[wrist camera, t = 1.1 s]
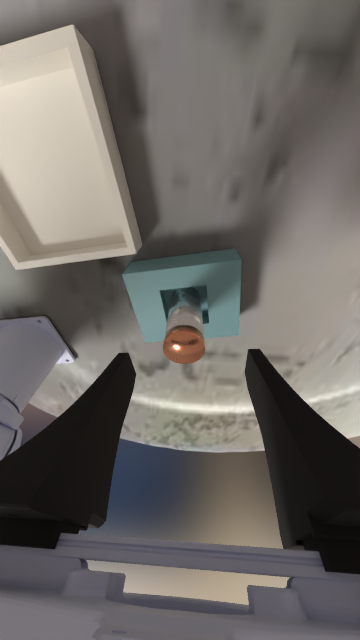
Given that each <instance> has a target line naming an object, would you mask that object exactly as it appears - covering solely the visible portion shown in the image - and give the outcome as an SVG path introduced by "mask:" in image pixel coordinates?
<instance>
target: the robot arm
mask: <svg viewBox="0 0 360 640" xmlns="http://www.w3.org/2000/svg"><path fill="white" fill-rule="evenodd" d="M40 320H41V321H40ZM75 360H76V359H75V357H74V356H73V354H72V353H71V351H70V350H69V348H68V347H67V345H66V344H65V343H64V341H63V340H62V338H61V337H60V335H59V334H58V332H57V331H56V329H55V328H54V326H53V325H52V323H51V322H50V320H49V319H48V318H47V317H45V316H38V317H28V318H18V319H8V320H0V640H360V448H358V447H357V446H356V445H354V444H353V443H352V442H351V441H349V440H348V439H347V438H346V437H345V436H343V435H342V434H341V433H340V432H338V431H337V430H336V429H335V428H334V427H332V426H331V425H330V424H329V423H328V422H326V421H325V420H324V419H323V418H322V417H321V416H320V415H319V414H317V413H316V412H315V411H314V410H313V409H312V408H311V407H310V406H309V405H308V404H307V403H306V402H305V401H304V400H303V399H302V398H301V397H300V396H299V395H298V394H297V393H296V392H295V391H294V390H293V389H292V388H291V387H290V386H289V384H288V383H287V382H286V381H285V380H284V379H283V378H282V376H281V375H280V374H279V373H278V372H277V371H276V369H275V368H274V367H273V366H272V364H271V363H270V362H269V361H268V359H267V358H266V357H265V355H264V354H263V353H262V351H261V350H260V349H248V355H247V361H246V367H245V376H246V381H247V387H248V391H249V394H250V397H251V401H252V404H253V407H254V410H255V414H256V417H257V420H258V423H259V427H260V430H261V434H262V438H263V443H264V448H265V452H266V457H267V462H268V467H269V472H270V478H271V483H272V489H273V494H274V499H275V506H276V512H277V518H278V524H279V530H280V536H281V540H282V545H283V548H284V549H276V548H262V547H249V546H234V545H220V544H207V543H192V542H179V541H166V540H152V539H138V538H124V537H111V536H97V535H83V534H78V532H79V530H83V531H86V530H87V528H88V527H91V528H99V527H101V526H102V525H103V524H104V522H105V521H106V516H107V508H108V501H109V494H110V487H111V480H112V474H113V469H114V463H115V458H116V452H117V447H118V443H119V438H120V433H121V429H122V425H123V422H124V419H125V416H126V412H127V409H128V406H129V403H130V399H131V396H132V393H133V389H134V383H135V377H136V372H135V370H134V367H133V364H132V361H131V359H130V356H129V353H118V355H117V356H116V357H115V358H114V359H113V361H112V362H111V363H110V364H109V365H108V367H107V368H106V369H105V370H104V371H103V372H102V374H101V375H100V376H99V377H98V378H97V379H96V381H95V382H94V383H93V384H92V385H91V386H90V387H89V388H88V389H87V390H86V391H85V392H84V394H83V395H82V396H81V397H80V398H79V399H78V400H77V401H76V402H75V403H74V404H73V405H71V406H70V407H69V408H68V409H67V410H66V411H65V412H64V413H63V414H62V415H60V416H59V417H58V418H57V419H56V420H54V421H53V422H52V423H51V424H50V425H49V426H47V427H46V428H45V429H44V430H43V431H41V432H40V433H38V434H37V435H36V436H34V437H33V438H32V439H31V440H29V441H28V442H26V443H25V444H24V445H23V446H21V447H20V443H21V439H22V431H21V429H20V428H18V427H19V426H20V424H21V423H22V421H23V420H24V418H23V417H22V416H21V415H20V413H21V412H22V410H23V408H24V407H25V406H26V405H27V403H28V402H29V400H30V399H31V398H32V396H33V395H34V393H35V392H36V391H37V389H38V388H39V386H40V385H41V384H42V382H43V381H44V379H45V378H46V377H47V375H48V374H49V372H50V371H51V370H52V368H53V367H54V366H55V364H58V363H73V362H75ZM86 560H95V561H107V562H120V563H130V564H143V565H154V566H165V567H177V568H188V569H200V570H212V571H223V572H235V573H246V574H258V575H269V576H280V577H292V578H289V580H288V581H287V586H286V588H275V587H264V586H253V585H248V587H247V592H248V600H249V605H243V604H235V603H227V602H219V601H211V600H202V599H193V598H182V597H173V596H161V595H148V594H136V593H124V592H123V588H124V582H125V577H126V576H125V574H123V573H112V572H102V571H91V570H89V569H88V564H87V561H86Z"/></svg>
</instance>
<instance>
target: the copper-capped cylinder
mask: <svg viewBox="0 0 360 640" xmlns="http://www.w3.org/2000/svg"><path fill="white" fill-rule="evenodd" d="M204 351H205V346H204V332H203V319H202V306H201V296H200V294H199V292H198V291H197V290H196V289H195V288H193V287H187V288H178V289H176V290H175V291H174V292H173V294H172V296H171V302H170V308H169V314H168V320H167V326H166V332H165V338H164V344H163V352H164V354H165V355H166V357H167V358H169V359H170V360H172V361H174V362H176V363H181V364H188V363H193V362H195V361H197V360H199V359H200V358H201V357H202V356H203V354H204Z"/></svg>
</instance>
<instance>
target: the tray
mask: <svg viewBox="0 0 360 640" xmlns="http://www.w3.org/2000/svg"><path fill="white" fill-rule="evenodd" d="M0 247H1V248H2V249H3V251H4V252H5V254H6V255H7V257H8V258H9V260H10V261H11V263H12V264H13V266H14V267H15V269H16V270H20V269H28V268H35V267H43V266H50V265H57V264H65V263H72V262H80V261H87V260H94V259H102V258H109V257H117V256H124V255H131V254H137V252H138V251H139V249H140V248H141V247H142V241H141V237H140V233H139V229H138V225H137V221H136V217H135V213H134V209H133V205H132V201H131V197H130V193H129V189H128V185H127V181H126V177H125V173H124V169H123V165H122V161H121V157H120V153H119V149H118V145H117V141H116V137H115V133H114V129H113V125H112V121H111V117H110V113H109V109H108V106H107V102H106V98H105V94H104V90H103V86H102V82H101V78H100V74H99V70H98V66H97V62H96V58H95V54H94V50H93V49H92V48H91V46H90V45H89V44H88V43H87V41H86V40H85V39H84V38H83V36H82V35H81V34H80V33H79V31H78V30H77V29H76V27H75V26H74V25H73V24H72V25H69V26H65V27H62V28H59V29H55V30H52V31H49V32H45V33H42V34H39V35H35V36H32V37H29V38H25V39H22V40H19V41H15V42H12V43H9V44H5V45H2V46H0Z"/></svg>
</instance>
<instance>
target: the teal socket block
mask: <svg viewBox="0 0 360 640" xmlns="http://www.w3.org/2000/svg"><path fill="white" fill-rule="evenodd" d="M241 267H242V259H241V257H240V256H239V254H238V252H237V251H236V249H235V248H233V249H225V250H217V251H210V252H202V253H194V254H187V255H179V256H171V257H164V258H156V259H148V260H141V261H133V262H130V263H129V265H128V266H127V268H126V269H125V270H124V272H123V273H122V277H123V280H124V283H125V285H126V288H127V291H128V294H129V297H130V300H131V303H132V306H133V309H134V312H135V315H136V317H137V320H138V323H139V326H140V329H141V332H142V335H143V338H144V341H145V342H158V341H164V338H165V332H166V326H167V320H168V314H169V308H170V302H171V296H172V294H173V292H174V291H175V290H176V289H178V288H187V287H193V288H195V289H196V290H197V291H198V292H199V294H200V296H201V306H202V319H203V332H204V338H211V337H224V336H238V335H239V314H240V290H241Z"/></svg>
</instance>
